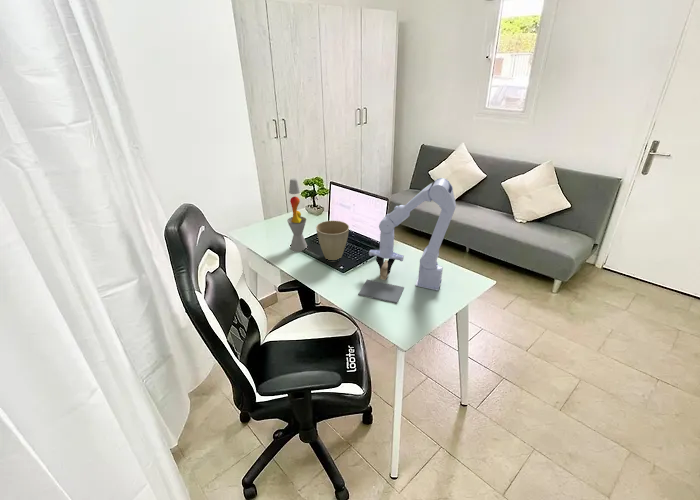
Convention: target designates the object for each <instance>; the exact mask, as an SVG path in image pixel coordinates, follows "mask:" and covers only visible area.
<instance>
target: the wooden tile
mask: <svg viewBox="0 0 700 500" xmlns="http://www.w3.org/2000/svg"><path fill="white" fill-rule="evenodd" d="M388 260H389V259H384V263H383V265H382V267H381V269H380V268H379V280H382V281H383V280H384V281H386V280H387V278H388V276H389V274H387V271H388V263H387V262H388Z"/></svg>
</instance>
